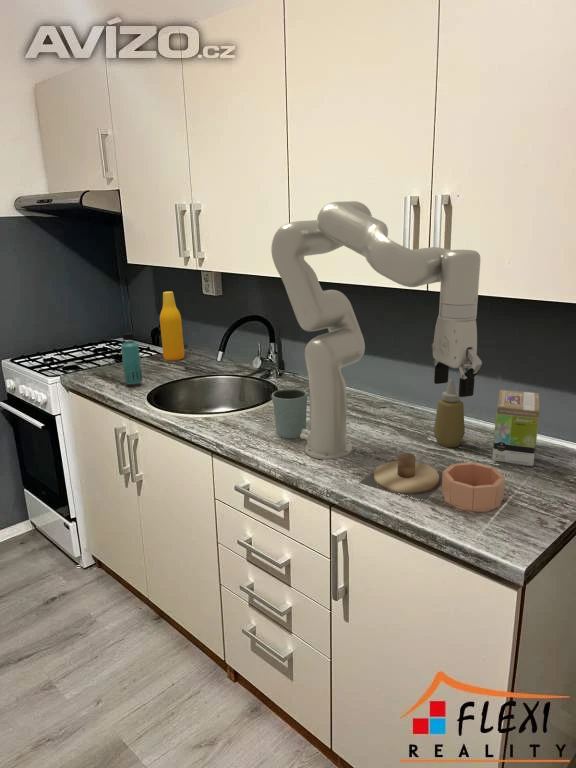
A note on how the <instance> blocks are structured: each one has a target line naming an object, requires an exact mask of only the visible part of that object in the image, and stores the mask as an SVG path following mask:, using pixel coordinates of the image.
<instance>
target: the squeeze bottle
mask: <svg viewBox="0 0 576 768" xmlns="http://www.w3.org/2000/svg"><path fill="white" fill-rule="evenodd" d="M464 412H465V408H464V402H463V401H462V400H461V397H460V396H459V391H457V389H456V383H455V379H448V384H447V387H446V391H443V392H442V393H441V399H439V401H438V402H437V408H436V414H435V421H434V426H433V427H434V428H433V434H434V436H435V439H436V442H437V443H436V444H437V445H438V446H440V447H444V448H450V449H451V448H457V447H459V446H460V445H461V443H462V440H463V438H464V436H465V434H466V431H465V413H464Z"/></svg>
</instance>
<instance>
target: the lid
mask: <svg viewBox="0 0 576 768" xmlns="http://www.w3.org/2000/svg"><path fill="white" fill-rule="evenodd" d="M397 460H398V461H392V462H389V461H388V462H385V463H382V464H380V465H379V466H377V467H376V468H375V469H374V471H373V472H374V480H375V482H376V483H377V484H378V485H379V486H380V487H382V488H384V489H386V490H389V491H392V492H397V493H403V494H417V493H424V492H428V491H430V490H432V489H434V488H435V487H436V486H437V485H438V484H439V474H438V472H437V471H438V470H436V468H434V467H432V466H430V465H428V464H426V463H423V462H419V461H416V455H414V454H413V453H409V452H404V453H403V452H402V453H400V454H398V455H397Z"/></svg>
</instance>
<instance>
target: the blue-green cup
mask: <svg viewBox="0 0 576 768" xmlns="http://www.w3.org/2000/svg"><path fill="white" fill-rule="evenodd" d="M271 399H272V406H273V412H274V413H273V415H274V418H275V419H274V420H275V422H274V423H275V429H276V430H275V431H276V434H277V436H278V437H279V438H284V439H297V438H298V439H299V438H300V434H301V433H302V430H303V429H307V416H308V415H307V412H308V411H307V410H308V408H307V406H308V392H307V391H306V390H304V389H300V388H282V389H278V390H275V391H274V392H272V394H271Z"/></svg>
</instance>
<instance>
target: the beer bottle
mask: <svg viewBox="0 0 576 768" xmlns="http://www.w3.org/2000/svg"><path fill="white" fill-rule="evenodd" d="M176 305H177V304H176V300H175V295H174V292H173V291H164V292H162V309H161V311H160V314H159V324H160V334H161V335H160V337H161V344H162V345H161V346H162V347H161V348H162V356H163V359H164V360H165V361H170V362H171V361H179V360H183V359H184V358H185V346H184V337H183V336H184V335H183V326H182V325H183V324H182V323H183V321H182V316H181V315H182V314H181V313H180V310H179V309H178V308H177V306H176Z"/></svg>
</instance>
